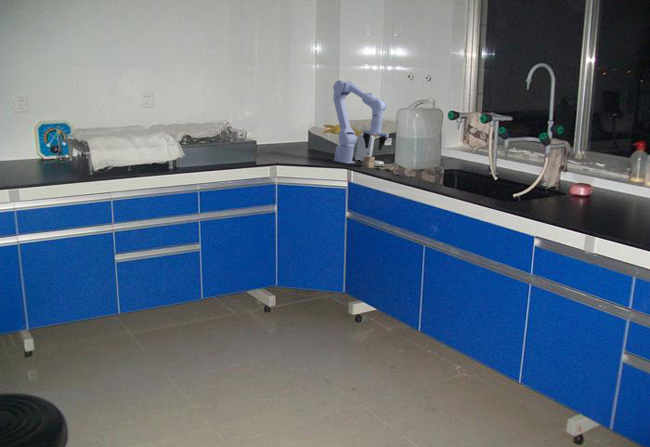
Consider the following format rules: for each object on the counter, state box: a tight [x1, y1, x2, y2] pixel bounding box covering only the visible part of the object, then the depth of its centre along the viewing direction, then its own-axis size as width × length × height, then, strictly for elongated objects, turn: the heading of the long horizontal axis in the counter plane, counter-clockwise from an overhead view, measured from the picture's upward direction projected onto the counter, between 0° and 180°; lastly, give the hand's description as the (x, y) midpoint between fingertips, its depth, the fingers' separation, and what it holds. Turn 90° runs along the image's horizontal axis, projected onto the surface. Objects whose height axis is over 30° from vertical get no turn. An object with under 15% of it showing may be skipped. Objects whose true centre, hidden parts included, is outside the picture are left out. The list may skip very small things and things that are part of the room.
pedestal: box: [374, 159, 384, 167], centre depth 372 cm, size 7×7×2 cm
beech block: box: [361, 156, 376, 169], centre depth 365 cm, size 4×4×6 cm
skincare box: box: [355, 133, 376, 162], centre depth 387 cm, size 8×6×15 cm
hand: (373, 149), depth 361 cm, fingers open, 7 cm apart
